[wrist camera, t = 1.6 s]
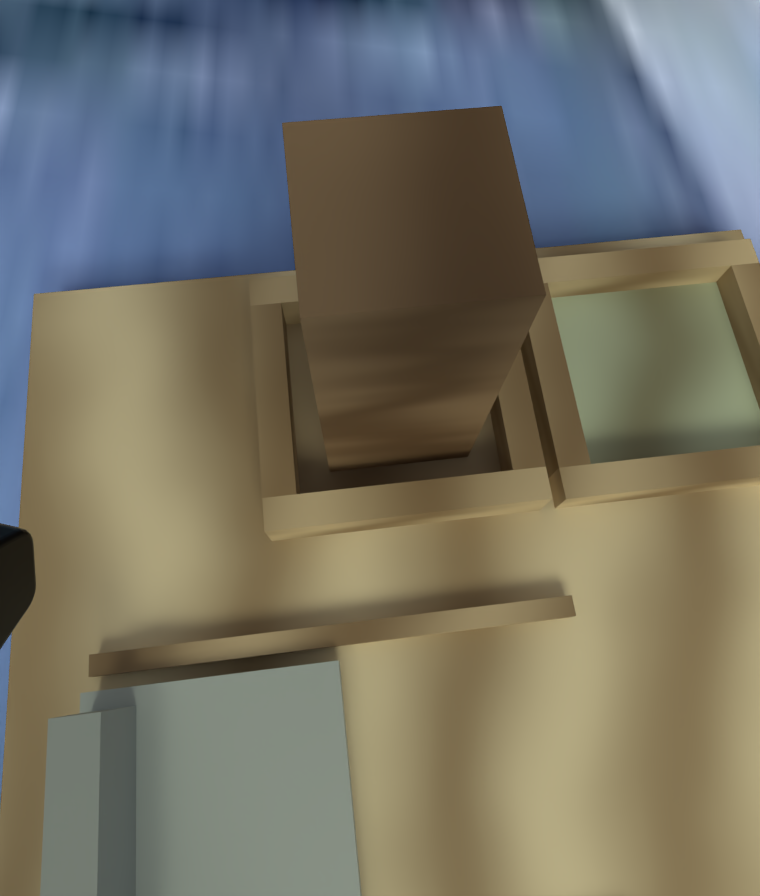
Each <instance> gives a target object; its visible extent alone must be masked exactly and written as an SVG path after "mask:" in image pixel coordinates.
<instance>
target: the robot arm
mask: <svg viewBox="0 0 760 896" xmlns="http://www.w3.org/2000/svg"><path fill="white" fill-rule="evenodd" d="M35 590H36V575H35V559H34V543H33V538H32V536H31V534H30V533H29V532H28V531H27V530H25V529H22V528H18V527H14V526H10V525H5V524H1V523H0V649H1V647H2V646H3V644H4V643H5V641H6V640H7V639H8V637H9V636H10V634H11V633H12V631H13V630H14V628H15V627H16V625H17V624H18V623H19V621H20V620H21V618H22V617H23V615H24V614H25V612H26V611H27V609H28V608H29V606H30V604H31V602H32V600H33V598H34V595H35Z"/></svg>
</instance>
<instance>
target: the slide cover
mask: <svg viewBox="0 0 760 896" xmlns="http://www.w3.org/2000/svg"><path fill="white" fill-rule="evenodd" d="M40 896H362V893H361V882H360V871H359V861H358V850H357V840H356V829H355V819H354V808H353V797H352V787H351V776H350V766H349V755H348V745H347V734H346V724H345V713H344V702H343V692H342V681H341V671H340V661H339V660H337V661H329V662H322V663H314V664H306V665H298V666H290V667H282V668H274V669H266V670H258V671H250V672H243V673H235V674H227V675H219V676H211V677H203V678H195V679H187V680H179V681H172V682H164V683H156V684H148V685H140V686H132V687H124V688H116V689H108V690H101V691H93V692H85V693H80V713H79V714H73V715H67V716H61V717H56V718H50V719H48V734H47V756H46V778H45V799H44V821H43V843H42V865H41V887H40Z"/></svg>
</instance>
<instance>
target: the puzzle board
mask: <svg viewBox="0 0 760 896" xmlns="http://www.w3.org/2000/svg"><path fill="white" fill-rule="evenodd" d="M535 249H536V253H537V257H538V262H539V266H540V270H541V274H542V279H543V283H544V287H545V291H546V296H545V298H544V300H543V302H542V305H541V307H540V309H539V311H538V313H537V315H536V317H535V319H534V321H533V323H532V325H531V327H530V329H529V331H528V333H527V336H526V338H525V340H524V342H523V344H522V346H521V348H520V350H519V352H518V354H517V356H516V358H515V360H514V362H513V364H512V367H511V369H510V371H509V373H508V375H507V377H506V379H505V381H504V383H503V385H502V387H501V389H500V391H499V393H498V395H497V398H496V400H495V402H494V404H493V406H492V408H491V410H490V412H489V414H488V416H487V418H486V420H485V422H484V424H483V426H482V429H481V431H480V433H479V435H478V437H477V439H476V441H475V443H474V445H473V447H472V449H471V451H470V453H469V455H468V457H462V458H452V459H443V460H434V461H425V462H416V463H407V464H398V465H389V466H379V467H370V468H361V469H352V470H343V471H334V472H330V470H329V465H328V460H327V455H326V450H325V445H324V440H323V434H322V429H321V424H320V419H319V414H318V409H317V404H316V398H315V393H314V388H313V383H312V378H311V373H310V368H309V363H308V357H307V352H306V347H305V342H304V337H303V332H302V327H301V321H300V314H299V303H298V292H297V281H296V270H293V271H282V272H271V273H260V274H249V275H238V276H227V277H216V278H205V279H194V280H183V281H172V282H161V283H150V284H139V285H128V286H117V287H106V288H95V289H84V290H73V291H62V292H51V293H40V294H34V302H33V317H32V332H31V348H30V363H29V378H28V394H27V409H26V424H25V440H24V455H23V470H22V485H21V501H20V516H19V528H22V529H25V530H27V531H28V532H29V533H30V534H31V536H32V538H33V543H34V559H35V575H36V590H35V595H34V598H33V600H32V602H31V604H30V606H29V608H28V609H27V611H26V612H25V614H24V615H23V617H22V618H21V620H20V621H19V623H18V624H17V625H16V627H15V628H14V630H13V631H12V639H11V654H10V669H9V685H8V700H7V715H6V730H5V746H4V761H3V776H2V792H1V807H0V896H40V887H41V865H42V843H43V821H44V799H45V778H46V756H47V734H48V719H50V718H56V717H61V716H67V715H73V714H79V713H80V693H85V692H93V691H101V690H108V689H116V688H124V687H132V686H140V685H148V684H156V683H164V682H172V681H179V680H187V679H195V678H203V677H211V676H219V675H227V674H235V673H243V672H250V671H258V670H266V669H274V668H282V667H290V666H298V665H306V664H314V663H322V662H329V661H337V660H339V661H340V671H341V681H342V692H343V702H344V713H345V724H346V734H347V745H348V755H349V766H350V776H351V787H352V797H353V808H354V819H355V829H356V840H357V850H358V861H359V871H360V882H361V893H362V896H760V264H759V261H758V258H757V256H756V253H755V250H754V248H753V245H752V242H751V239H744V237H743V234H742V232H741V230H732V231H721V232H710V233H699V234H688V235H677V236H666V237H655V238H644V239H633V240H622V241H611V242H600V243H589V244H578V245H567V246H556V247H545V248H535Z"/></svg>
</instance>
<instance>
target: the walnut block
mask: <svg viewBox="0 0 760 896" xmlns="http://www.w3.org/2000/svg"><path fill="white" fill-rule="evenodd" d="M282 126H283V137H284V148H285V159H286V170H287V181H288V193H289V204H290V215H291V226H292V237H293V248H294V259H295V270H296V281H297V292H298V303H299V314H300V321H301V327H302V332H303V337H304V342H305V347H306V352H307V357H308V363H309V368H310V373H311V378H312V383H313V388H314V393H315V398H316V404H317V409H318V414H319V419H320V424H321V429H322V434H323V440H324V445H325V450H326V455H327V460H328V465H329V470H330V472H334V471H343V470H352V469H361V468H370V467H379V466H389V465H398V464H407V463H416V462H425V461H434V460H443V459H452V458H462V457H468V455H469V453H470V451H471V449H472V447H473V445H474V443H475V441H476V439H477V437H478V435H479V433H480V431H481V429H482V426H483V424H484V422H485V420H486V418H487V416H488V414H489V412H490V410H491V408H492V406H493V404H494V402H495V400H496V398H497V395H498V393H499V391H500V389H501V387H502V385H503V383H504V381H505V379H506V377H507V375H508V373H509V371H510V369H511V367H512V364H513V362H514V360H515V358H516V356H517V354H518V352H519V350H520V348H521V346H522V344H523V342H524V340H525V338H526V336H527V333H528V331H529V329H530V327H531V325H532V323H533V321H534V319H535V317H536V315H537V313H538V311H539V309H540V307H541V305H542V302H543V300H544V298H545V296H546V291H545V287H544V283H543V279H542V274H541V270H540V266H539V262H538V257H537V253H536V249H535V245H534V241H533V236H532V232H531V228H530V224H529V219H528V215H527V211H526V207H525V203H524V198H523V194H522V190H521V186H520V182H519V177H518V173H517V169H516V165H515V160H514V156H513V152H512V148H511V144H510V139H509V135H508V131H507V127H506V122H505V118H504V114H503V110H502V106H493V107H481V108H468V109H455V110H442V111H429V112H416V113H403V114H390V115H378V116H365V117H352V118H339V119H326V120H313V121H300V122H287V123H282Z"/></svg>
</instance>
